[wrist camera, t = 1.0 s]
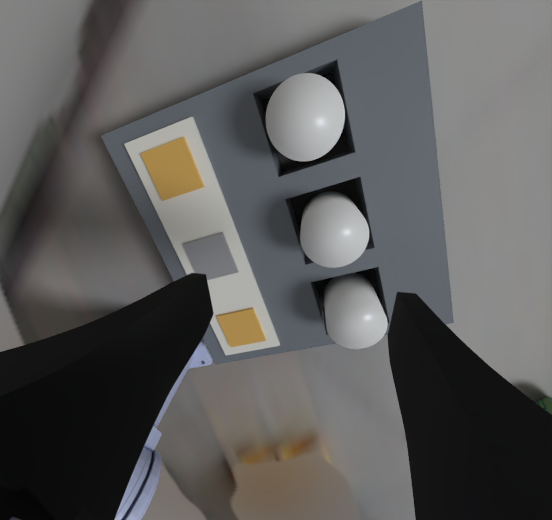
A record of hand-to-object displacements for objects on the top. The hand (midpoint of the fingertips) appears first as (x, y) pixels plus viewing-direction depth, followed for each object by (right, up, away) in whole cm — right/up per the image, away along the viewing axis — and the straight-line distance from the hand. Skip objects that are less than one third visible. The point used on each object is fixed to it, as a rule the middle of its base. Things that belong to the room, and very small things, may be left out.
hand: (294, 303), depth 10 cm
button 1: (+5, -1, +12) cm, 13 cm away
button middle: (+3, +5, +9) cm, 11 cm away
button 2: (+1, +10, +7) cm, 13 cm away
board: (+1, +5, +12) cm, 13 cm away
